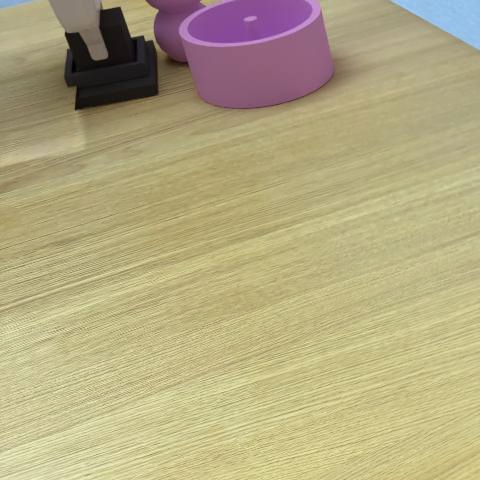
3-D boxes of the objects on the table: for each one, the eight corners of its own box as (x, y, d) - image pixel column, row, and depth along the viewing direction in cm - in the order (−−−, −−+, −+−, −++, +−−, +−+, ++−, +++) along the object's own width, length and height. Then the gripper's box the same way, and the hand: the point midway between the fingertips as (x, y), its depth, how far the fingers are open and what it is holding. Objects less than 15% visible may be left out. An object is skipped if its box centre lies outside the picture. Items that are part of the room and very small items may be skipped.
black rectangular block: (80, 76, 117) (64, 34, 114) (82, 56, 121) (66, 15, 118) (135, 66, 118) (120, 24, 114) (134, 47, 122) (120, 6, 119)
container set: (361, 67, 117) (335, -63, 108) (254, 120, 110) (216, -15, 100) (226, 26, 130) (193, -94, 120) (122, 70, 122) (77, -54, 113)
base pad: (66, 111, 115) (56, 87, 113) (71, 65, 125) (62, 41, 123) (158, 94, 117) (150, 70, 115) (156, 49, 126) (148, 26, 124)
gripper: (26, -113, 115) (76, 19, 125) (12, -60, 101) (69, 85, 111) (85, -122, 116) (129, 10, 126) (79, -71, 102) (130, 73, 112)
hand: (101, 45), depth 118 cm, fingers closed on black rectangular block, 6 cm apart
